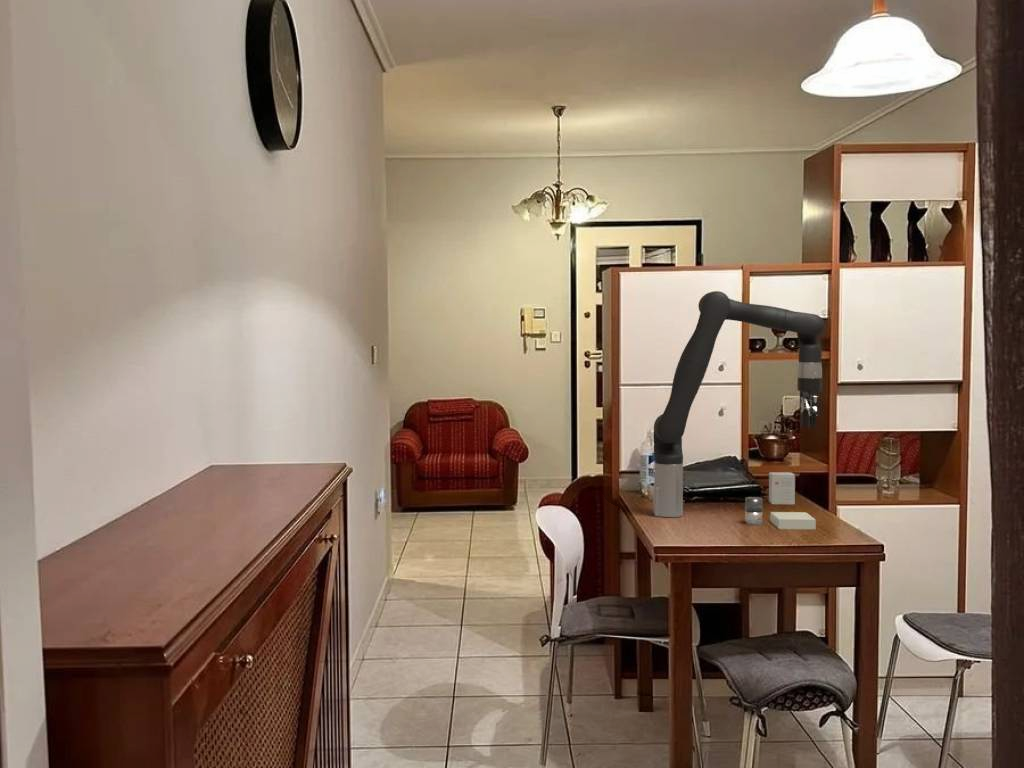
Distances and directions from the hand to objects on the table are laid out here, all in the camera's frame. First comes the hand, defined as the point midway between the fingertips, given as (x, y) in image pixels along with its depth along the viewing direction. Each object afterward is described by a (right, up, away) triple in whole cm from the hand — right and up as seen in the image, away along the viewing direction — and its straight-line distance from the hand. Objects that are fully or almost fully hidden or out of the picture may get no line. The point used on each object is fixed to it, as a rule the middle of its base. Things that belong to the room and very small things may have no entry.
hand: (808, 426), depth 293 cm
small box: (-2, -28, +24) cm, 37 cm away
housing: (-21, -30, -10) cm, 38 cm away
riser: (-9, -30, -12) cm, 34 cm away
